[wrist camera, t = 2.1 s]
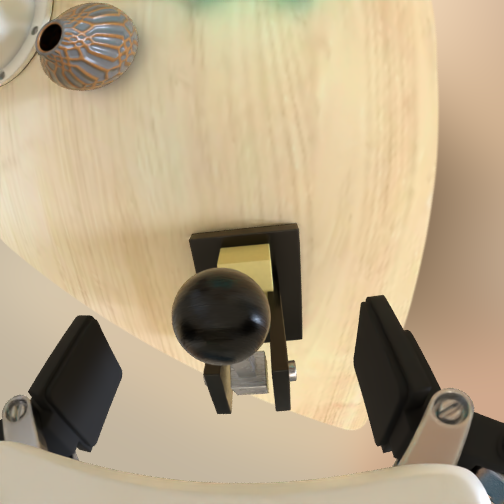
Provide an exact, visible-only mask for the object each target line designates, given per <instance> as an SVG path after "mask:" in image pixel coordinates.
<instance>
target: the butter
mask: <svg viewBox="0 0 504 504" xmlns="http://www.w3.org/2000/svg"><path fill="white" fill-rule="evenodd" d="M217 268H230V269H234V270H238V271H240V272H242V273H244V274H246V275H248V276H249V277H250V278H252V279H253V280H254V281H255V282H256V283H257V284H258V285H259V286H260V287H261V289H262V290H263V292H264V293H265V295H266V298H267V292H269V291H273V280H272V269H271V258H270V248H269V244H259V245H249V246H238V247H228V248H221V249H220V253H219V258H218V263H217ZM267 300H268V298H267Z"/></svg>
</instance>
